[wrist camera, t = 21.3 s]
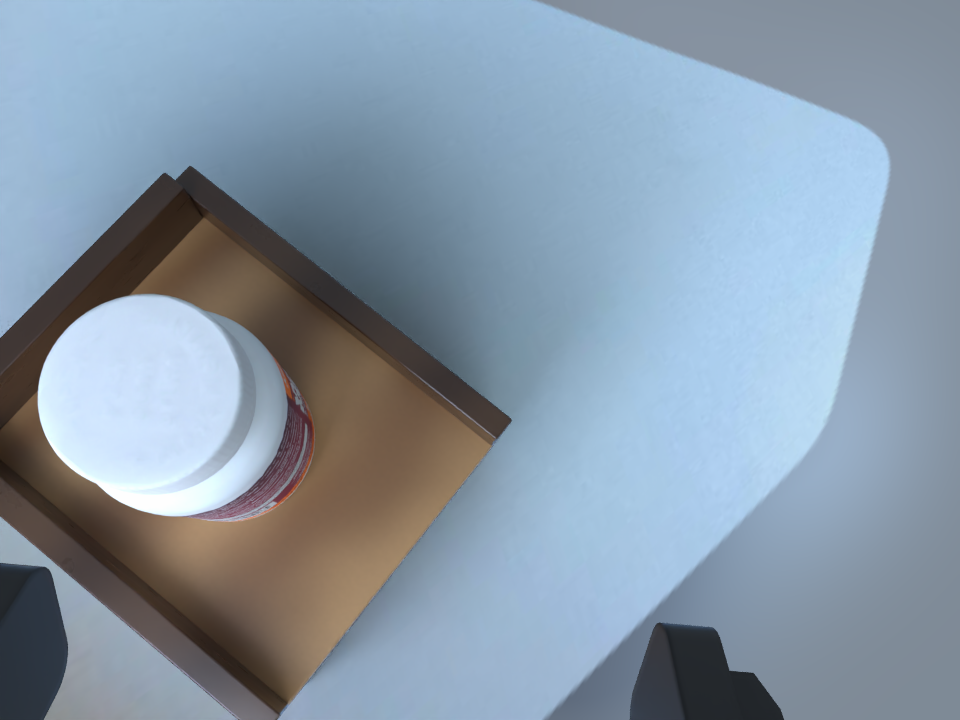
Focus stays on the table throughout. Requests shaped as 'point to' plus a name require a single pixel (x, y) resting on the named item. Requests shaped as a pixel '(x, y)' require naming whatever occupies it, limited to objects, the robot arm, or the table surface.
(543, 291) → the table surface
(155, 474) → the pill bottle
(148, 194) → the wooden tray box
